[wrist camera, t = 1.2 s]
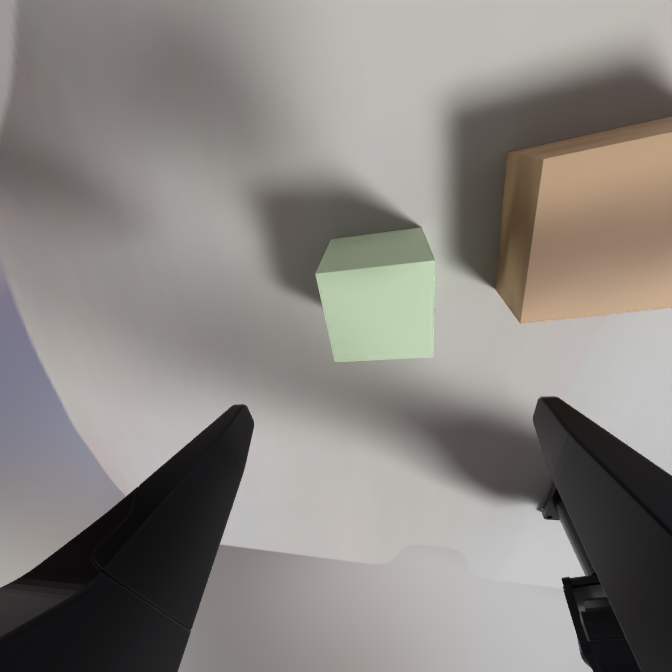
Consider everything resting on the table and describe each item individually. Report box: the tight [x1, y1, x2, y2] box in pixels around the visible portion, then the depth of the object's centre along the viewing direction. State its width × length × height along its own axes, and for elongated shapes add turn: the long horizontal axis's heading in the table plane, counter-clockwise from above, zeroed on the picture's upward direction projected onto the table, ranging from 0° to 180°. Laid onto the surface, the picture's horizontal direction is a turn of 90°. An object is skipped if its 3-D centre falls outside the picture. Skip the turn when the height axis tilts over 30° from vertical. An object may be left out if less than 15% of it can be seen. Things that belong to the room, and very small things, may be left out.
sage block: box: [315, 227, 435, 362], centre depth 16 cm, size 5×5×5 cm
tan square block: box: [496, 116, 672, 324], centre depth 13 cm, size 7×7×4 cm
